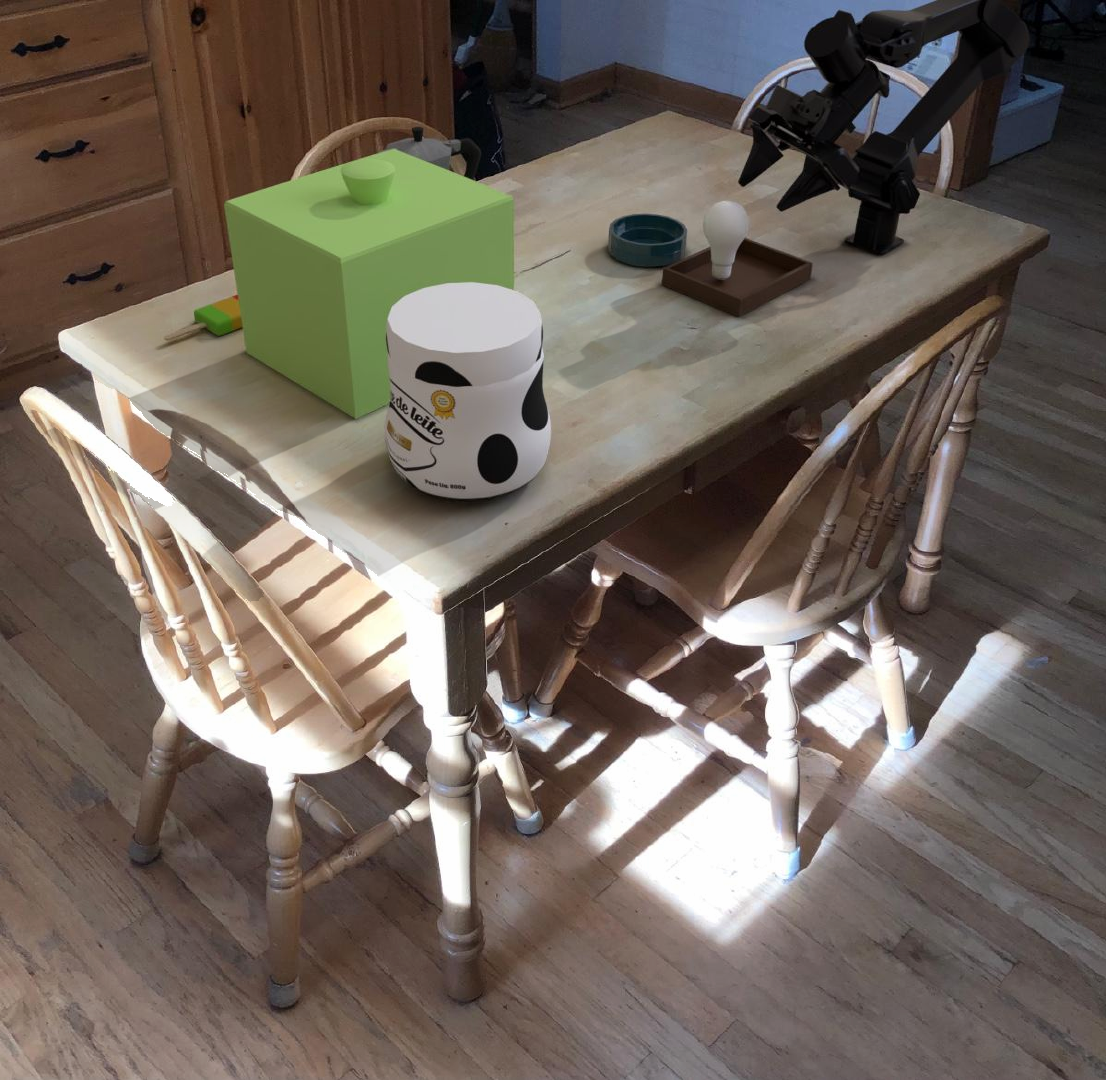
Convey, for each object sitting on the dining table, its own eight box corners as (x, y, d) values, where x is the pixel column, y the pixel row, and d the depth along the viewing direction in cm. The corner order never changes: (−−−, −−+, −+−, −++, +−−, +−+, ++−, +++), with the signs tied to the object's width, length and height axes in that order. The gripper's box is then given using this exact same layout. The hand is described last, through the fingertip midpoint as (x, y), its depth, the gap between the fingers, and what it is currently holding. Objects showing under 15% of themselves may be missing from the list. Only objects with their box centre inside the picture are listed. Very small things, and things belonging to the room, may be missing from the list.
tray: (734, 250, 176) (736, 234, 174) (810, 279, 169) (813, 262, 167) (661, 285, 167) (662, 267, 165) (738, 317, 159) (740, 299, 158)
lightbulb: (724, 293, 164) (732, 215, 157) (689, 279, 167) (695, 202, 160) (752, 279, 167) (761, 202, 160) (717, 266, 171) (724, 189, 164)
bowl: (642, 230, 181) (644, 207, 179) (700, 252, 175) (702, 229, 173) (592, 251, 175) (593, 228, 173) (650, 275, 169) (652, 252, 167)
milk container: (359, 494, 126) (343, 339, 115) (429, 413, 139) (421, 266, 128) (515, 531, 122) (514, 373, 111) (572, 443, 135) (577, 293, 124)
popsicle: (280, 314, 158) (278, 300, 157) (178, 353, 149) (175, 339, 148) (255, 300, 161) (253, 287, 160) (154, 338, 152) (151, 324, 151)
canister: (403, 289, 164) (392, 117, 150) (514, 345, 152) (513, 163, 138) (246, 352, 150) (218, 168, 136) (355, 419, 138) (337, 224, 124)
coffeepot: (388, 274, 168) (379, 144, 157) (369, 247, 175) (359, 121, 164) (493, 257, 173) (492, 130, 162) (471, 232, 179) (468, 108, 169)
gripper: (768, 42, 160) (689, 137, 163) (855, 83, 147) (767, 186, 150) (810, 96, 168) (733, 186, 171) (895, 139, 155) (811, 236, 158)
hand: (759, 197), depth 162 cm, fingers open, 9 cm apart
